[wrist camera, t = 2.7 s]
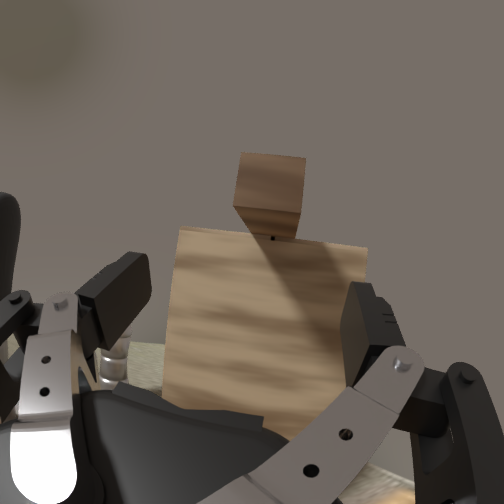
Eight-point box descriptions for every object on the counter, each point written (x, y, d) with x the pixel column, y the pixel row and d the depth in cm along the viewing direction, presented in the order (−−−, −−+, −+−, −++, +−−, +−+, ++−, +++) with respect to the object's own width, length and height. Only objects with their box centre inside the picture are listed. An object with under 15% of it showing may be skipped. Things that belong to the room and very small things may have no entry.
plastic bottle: (102, 387, 50) (106, 296, 52) (132, 393, 51) (137, 302, 53) (93, 398, 44) (95, 299, 45) (125, 406, 45) (130, 306, 47)
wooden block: (306, 514, 23) (367, 248, 26) (160, 488, 25) (180, 225, 28) (301, 446, 40) (335, 261, 43) (198, 429, 43) (220, 247, 45)
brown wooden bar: (300, 213, 16) (305, 158, 17) (232, 205, 17) (241, 152, 17) (290, 256, 44) (293, 233, 44) (264, 253, 45) (267, 230, 45)
